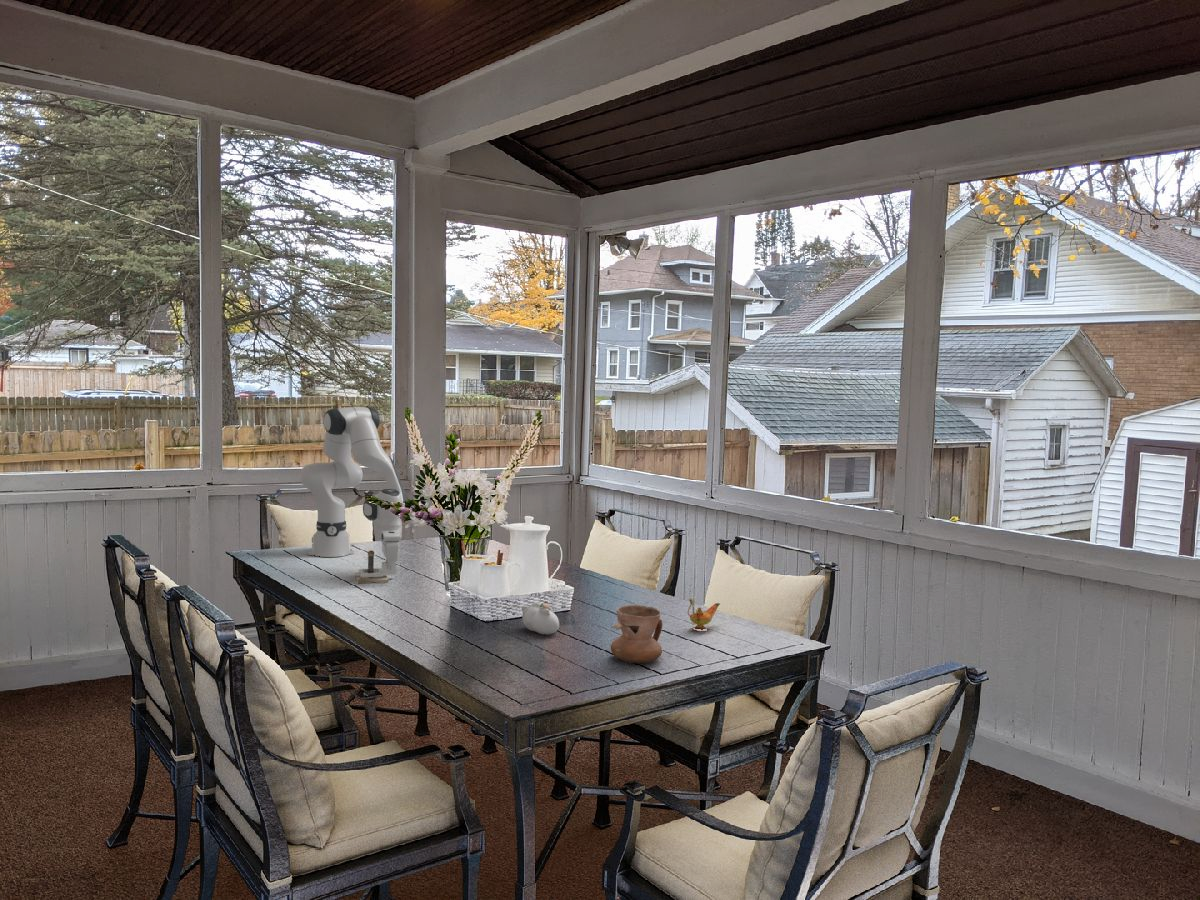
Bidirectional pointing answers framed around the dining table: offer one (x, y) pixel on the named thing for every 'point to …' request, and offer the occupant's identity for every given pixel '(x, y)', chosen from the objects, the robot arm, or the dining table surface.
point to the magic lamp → (702, 615)
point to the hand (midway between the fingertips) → (389, 568)
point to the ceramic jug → (637, 634)
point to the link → (378, 571)
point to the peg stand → (370, 570)
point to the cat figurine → (540, 618)
